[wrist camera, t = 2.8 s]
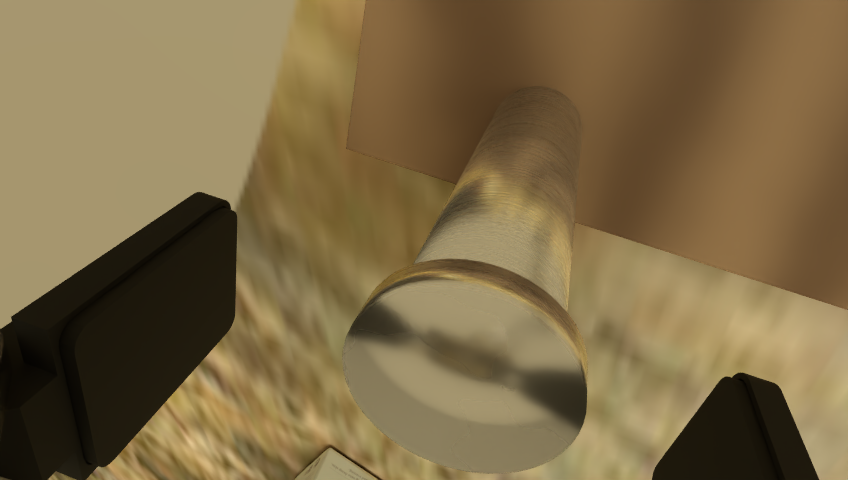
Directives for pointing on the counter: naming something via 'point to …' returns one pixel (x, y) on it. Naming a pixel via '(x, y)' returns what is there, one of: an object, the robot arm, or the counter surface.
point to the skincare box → (333, 469)
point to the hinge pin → (485, 307)
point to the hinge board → (641, 116)
